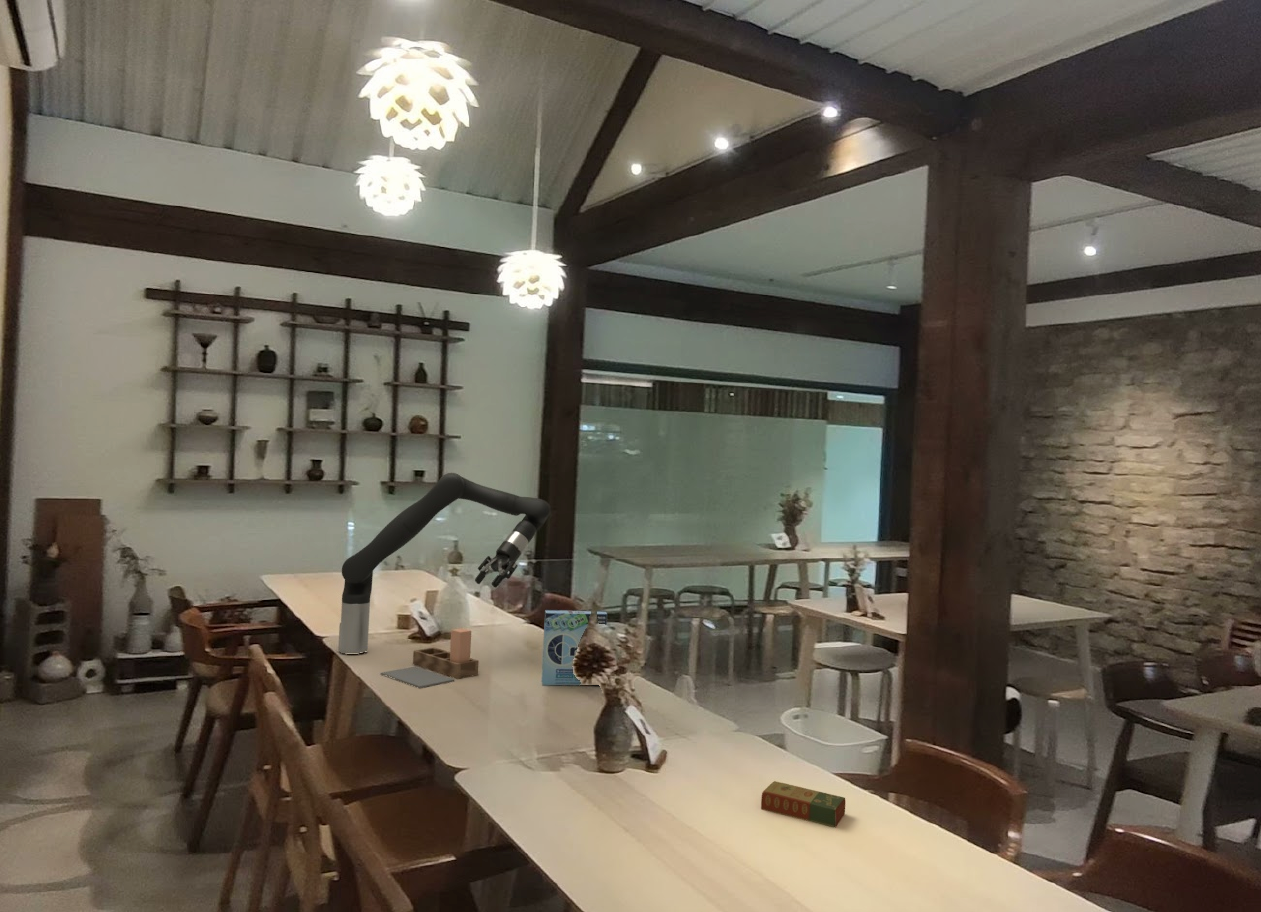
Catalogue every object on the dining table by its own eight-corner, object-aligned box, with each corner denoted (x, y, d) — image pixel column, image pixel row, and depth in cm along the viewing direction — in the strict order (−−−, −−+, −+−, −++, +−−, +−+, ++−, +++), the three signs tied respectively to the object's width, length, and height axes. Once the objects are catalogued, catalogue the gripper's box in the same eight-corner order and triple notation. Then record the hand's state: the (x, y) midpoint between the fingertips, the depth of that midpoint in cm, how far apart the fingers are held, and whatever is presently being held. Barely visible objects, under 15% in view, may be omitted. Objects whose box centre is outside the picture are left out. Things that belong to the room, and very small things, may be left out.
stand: (412, 664, 297) (413, 650, 297) (433, 660, 303) (434, 647, 303) (457, 678, 282) (457, 664, 282) (477, 674, 288) (478, 660, 288)
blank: (448, 673, 287) (451, 629, 287) (460, 671, 291) (462, 628, 291) (458, 676, 285) (460, 632, 284) (469, 674, 288) (471, 630, 288)
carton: (773, 798, 199) (774, 779, 199) (845, 816, 192) (846, 796, 192) (760, 811, 192) (761, 790, 192) (835, 829, 184) (836, 808, 184)
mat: (380, 674, 282) (380, 672, 282) (415, 668, 292) (415, 666, 292) (419, 688, 269) (419, 686, 269) (454, 681, 279) (454, 679, 279)
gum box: (602, 682, 287) (606, 610, 287) (604, 687, 282) (608, 613, 281) (541, 681, 284) (544, 609, 284) (541, 686, 279) (545, 612, 279)
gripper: (493, 538, 311) (465, 574, 302) (521, 542, 301) (493, 579, 293) (504, 552, 315) (477, 588, 306) (532, 557, 305) (505, 594, 297)
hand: (485, 584), depth 299 cm, fingers open, 8 cm apart
